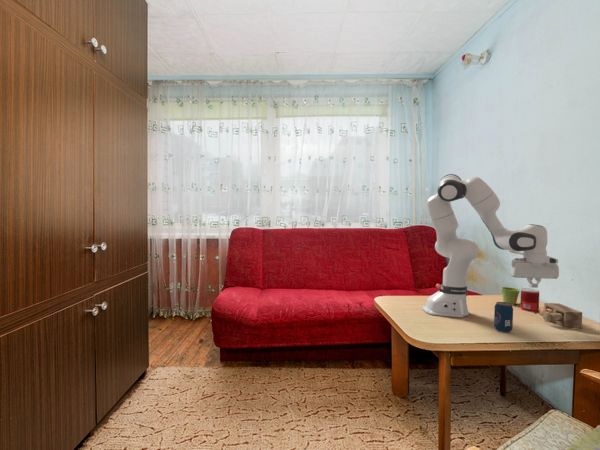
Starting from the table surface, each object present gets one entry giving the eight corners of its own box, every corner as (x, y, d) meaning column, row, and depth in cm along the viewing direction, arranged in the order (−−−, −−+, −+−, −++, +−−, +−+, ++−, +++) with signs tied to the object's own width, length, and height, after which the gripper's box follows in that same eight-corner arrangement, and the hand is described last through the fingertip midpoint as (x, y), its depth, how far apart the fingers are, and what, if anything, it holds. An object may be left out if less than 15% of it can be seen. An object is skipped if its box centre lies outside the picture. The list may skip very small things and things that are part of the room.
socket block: (565, 328, 141) (565, 311, 141) (543, 317, 155) (544, 303, 155) (581, 328, 140) (582, 312, 140) (558, 318, 154) (559, 303, 154)
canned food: (541, 312, 163) (542, 292, 163) (524, 311, 165) (525, 291, 165) (533, 308, 171) (534, 288, 170) (517, 307, 172) (518, 287, 172)
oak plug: (549, 322, 143) (549, 313, 143) (542, 319, 147) (543, 310, 147) (568, 323, 142) (569, 314, 142) (561, 320, 147) (562, 311, 146)
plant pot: (500, 300, 186) (501, 286, 185) (519, 303, 180) (520, 288, 180) (499, 304, 178) (500, 289, 178) (519, 307, 173) (520, 291, 172)
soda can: (490, 326, 142) (491, 301, 141) (506, 327, 141) (507, 301, 141) (498, 332, 135) (499, 305, 134) (515, 333, 134) (516, 306, 134)
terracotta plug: (545, 317, 150) (545, 308, 149) (539, 314, 154) (539, 306, 154) (564, 318, 149) (564, 309, 149) (557, 315, 153) (558, 306, 153)
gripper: (516, 258, 145) (514, 288, 145) (562, 260, 143) (560, 289, 144) (507, 257, 151) (506, 285, 152) (552, 258, 150) (550, 286, 150)
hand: (533, 287), depth 148 cm, fingers closed
